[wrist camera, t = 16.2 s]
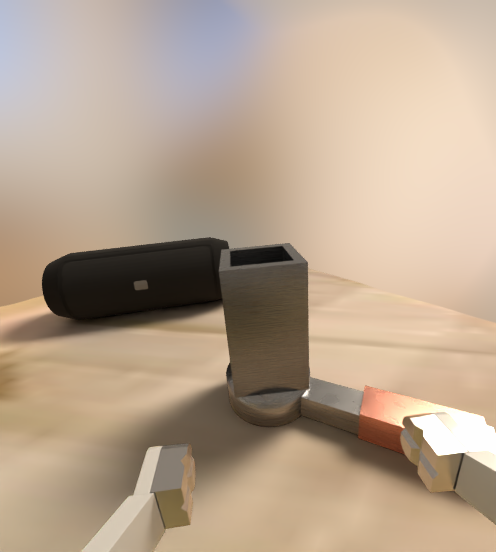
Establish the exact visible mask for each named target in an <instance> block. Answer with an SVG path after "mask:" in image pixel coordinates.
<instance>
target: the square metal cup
mask: <svg viewBox="0 0 496 552" xmlns="http://www.w3.org/2000/svg"><path fill="white" fill-rule="evenodd" d="M219 277H220V284H221V292H222V300H223V308H224V316H225V324H226V332H227V340H228V347H229V355H230V363H231V371H232V379H233V387H234V395H235V398H238V397H247V396H255V395H264V394H273V393H281V392H290V391H299V390H308V389H309V338H308V262H307V261H306V260H305V259H304V258H303V257H302V256H301V255H300V254H299V253H298V252H297V251H296V250H295V249H294V248H293V247H292V245H290V243H285V244H275V245H265V246H255V247H245V248H234V249H224V250H221V257H220V266H219Z"/></svg>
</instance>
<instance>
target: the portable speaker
mask: <svg viewBox="0 0 496 552" xmlns="http://www.w3.org/2000/svg"><path fill="white" fill-rule="evenodd" d="M224 249H229V246H228V242H227V241H224V240H219V239H215V238H210V237H209V238H199V239H191V240H182V241H173V242H165V243H156V244H147V245H139V246H130V247H121V248H112V249H103V250H96V251H86V252H77V253H70V254H67V255H65V256H63V257H61V258H59V259H57V260H55V261H53V262H51V263H49V264H48V265H47V266H46V268H45V270H44V273H43V277H42V289H43V295H44V299H45V301H46V303H47V305H48V307H49V308H50V310H51V311H52V312H53V313H54V314H56V315H58V316H62V317H67V318H72V319H78V320H81V319H90V318H97V317H104V316H112V315H119V314H126V313H132V312H139V311H146V310H153V309H160V308H167V307H174V306H181V305H188V304H195V303H201V302H208V301H214V300H219V299H221V298H222V292H221V284H220V277H219V266H220V257H221V250H224Z"/></svg>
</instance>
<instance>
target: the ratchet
mask: <svg viewBox="0 0 496 552" xmlns="http://www.w3.org/2000/svg"><path fill="white" fill-rule="evenodd" d="M226 376H227V384H228V391H229V398H230V404H231V406H232V408H233V410H234V411H235V413H236V414H237V415H238V416H239V417H240V418H242V419H243V420H245V421H247V422H249V423H251V424H254V425H258V426H264V427H275V426H281V425H285V424H287V423H290V422H292V421H294V420H296V419H297V418H298V417H300V416H301V415H302V416H305V417H308V418H311V419H313V420H316V421H319V422H322V423H325V424H328V425H331V426H334V427H336V428H339V429H342V430H345V431H348V432H351V433H354V434H357V435H358V438H359V439H362V440H365V441H368V442H371V443H374V444H376V445H379V446H382V447H385V448H388V449H391V450H393V451H396V452H399V453H402V454H405V453H404V450H403V448H402V445H401V441H400V436H401V432H402V431H403V430H404V428H405V427H404V426H403V424H402V420H403V418H404V417H405V416H409V415H416V414H424V413H433V412H442V411H445V412H446V413H448V414H449V415H450V416H451V417H452V418H453V419H454V420H455V421H456V422H457V423H458V424H459V425H460V426H461V427H462V428H463V430H464V431H465V432H466V433H467V434H468V435H469V436H470V437H471V438H472V439H473V440H474V441H475V442H476V443H477V444H478V445H479V446H480V447H481V448H482V449H483V450H489V451H490V452H492V453H494V454H496V434H495V431H494V428H493V427H491V426H487V425H486V424H485V420H484V417H483V416H479V415H475V414H471V413H468V412H464V411H460V410H456V409H452V408H449V407H445V406H441V405H437V404H433V403H430V402H426V401H422V400H418V399H414V398H410V397H407V396H403V395H399V394H395V393H391V392H388V391H384V390H380V389H376V388H372V387H369V386H365V389H364V392H363V391H359V390H355V389H352V388H348V387H344V386H341V385H337V384H333V383H330V382H326V381H322V380H319V379H315V378H311V377H310V368H309V389H308V390H299V391H290V392H281V393H273V394H264V395H255V396H247V397H238V398H235V395H234V387H233V379H232V371H231V363H229V365H228V368H227V372H226Z"/></svg>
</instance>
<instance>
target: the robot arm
mask: <svg viewBox="0 0 496 552" xmlns="http://www.w3.org/2000/svg"><path fill="white" fill-rule="evenodd" d="M402 424H403V426H404V427H405V428H404V430H403V431H402V432H401V436H400V441H401V445H402V448H403V450H404V453H405V455H406V456H407V458H408V459H409V461H411V462H412V463H413V464H415V465H416V466H418V468H417V473H418V475H419V476H420V478H421V479H422V481H423V482H424V484H425V486H426V487H427V489H428V490H429V492H430V493H433V492H443V491H453V490H455V493H457V494H458V495H459V496H460V497H462V498H463V499H464V500H465V501H467V502H468V503H469V504H470V505H472V506H473V507H474V508H475V509H477V510H478V511H479V512H480V513H482V514H483V515H484V516H485V517H487V518H488V519H489V520H491V521H492V522H493V523H494V524H496V454H494V453H492V452H490V451H489V450H483V449H482V448H481V447H480V446H479V445H478V444H477V443H476V442H475V441H474V440H473V439H472V438H471V437H470V436H469V435H468V434H467V433H466V432H465V431H464V430H463V428H462V427H461V426H460V425H459V424H458V423H457V422H456V421H455V420H454V419H453V418H452V417H451V416H450V415H449V414H448V413H446V412H445V411H442V412H433V413H424V414H416V415H409V416H405V417H404V418H403V420H402ZM191 454H192V447H191V444H190V443H187V444H176V445H166V446H157V447H149V448H148V450H147V452H146V454H145V458H144V461H143V464H142V467H141V471H140V474H139V477H138V480H137V484H136V487H135V490H134V493H133V495H132V496H128V497H127V498H126V500H125V501H124V502H123V503H122V504H121V505H120V507H119V508H118V509H117V510H116V511H115V512H114V514H113V515H112V516H111V517H110V518H109V519H108V521H107V522H106V523H105V524H104V525H103V526H102V528H101V529H100V530H99V531H98V532H97V533H96V535H95V536H94V537H93V538H92V539H91V540H90V542H89V543H88V544H87V545H86V546H85V547H84V549H83V550H82V551H81V552H153V551H154V549H155V547H156V546H157V544H158V542H159V541H160V539H161V537H162V536H163V534H164V532H165V529H168V528H174V527H180V526H186V525H190V523H191V514H192V506H193V501H192V496H191V493H192V491H193V490H194V488H195V471H196V470H195V461H194V458H193V457H191Z"/></svg>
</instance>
